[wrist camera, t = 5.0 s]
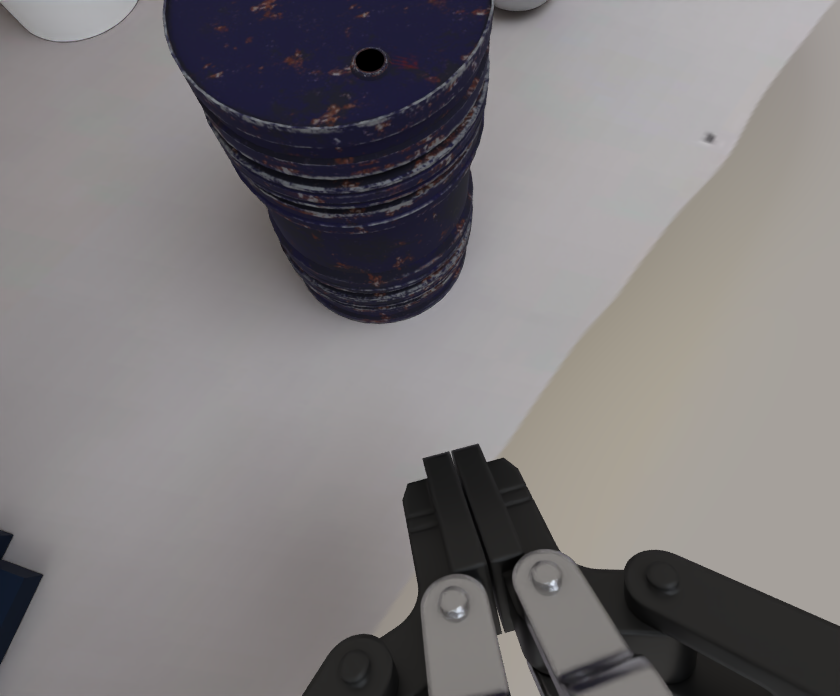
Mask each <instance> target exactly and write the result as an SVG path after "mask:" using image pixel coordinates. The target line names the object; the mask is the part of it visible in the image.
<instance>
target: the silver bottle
mask: <svg viewBox="0 0 840 696" xmlns="http://www.w3.org/2000/svg"><path fill="white" fill-rule="evenodd" d="M546 1H547V0H494V6H495V7H498V8H500V9H504V10H509V11H525V10H529V9H533V8H535V7H538V6H540V5H541V4H543V3H545V2H546Z"/></svg>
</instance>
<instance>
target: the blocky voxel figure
mask: <svg viewBox="0 0 840 696" xmlns="http://www.w3.org/2000/svg"><path fill="white" fill-rule="evenodd" d="M12 537H13V535H12V534H10V533H7V532H4V531H1V530H0V664H1V662H2V660H3V657H4V655H5V653H6V651H7V649H8V647H9V645H10V643H11V641H12V639H13V637H14V635H15V632H16V630H17V628H18V626H19V624H20V622H21V620H22V618H23V616H24V614H25V612H26V609H27V607H28V605H29V603H30V601H31V599H32V597H33V595H34V593H35V591H36V589H37V586H38V584H39V582H40V580H41V578H42V576H43V575H42V574H39V573H36V572H34V571H31V570H28V569H26V568H23V567H20V566H18V565H15V564H12V563H10V562H7V561H4V560H2V557H3V555H4V553H5V551H6V549H7V547H8V545H9V543H10V541H11V539H12Z"/></svg>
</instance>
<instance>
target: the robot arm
mask: <svg viewBox="0 0 840 696" xmlns="http://www.w3.org/2000/svg"><path fill="white" fill-rule="evenodd" d="M451 453H452V458H453V461H452V458H451V455H450V452H449V451H448V452H445V453H441V454H437V455H433V456H430V457H426V458H422V459H423V462H424V466H425V470H426V474H427V479H423V480H420V481H416V482H412V483H409V484H407V488H406V491H405V494H404V497H403V500H402V501H403V506H404V512H405V517H406V523H407V528H408V533H409V539H410V544H411V550H412V555H413V561H414V566H415V571H416V577H417V582H418V597H417V602H416V604H415V607H414V609H413V610H412V612H411V613H410V615H409V616H408V617H407V619H406V620H405V621H404V622H403V623H401V624H400V625H399V626H397V627H396V628H395V629H393V630H392V631H390V632H388V633H387V634H385V635H384V636H382V637H381V638H378V637H376V636H373V635H369V634H358V635H354V636H351V637H349V638H347V639H345V640H343V641H341V642H340V643H339V644H338V645H336V646H335V647H334V648H333V649H332V651H331V652H330V653H329V655H328V656H327V657H326V659H325V661H324V662H323V664H322V665H321V667H320V668H319V670H318V671H317V673H316V675H315V676H314V678H313V679H312V681H311V682H310V684H309V685H308V687H307V689H306V690H305V692H304V693H303V695H302V696H511V695H510V691H509V687H508V682H507V678H506V673H505V669H504V665H503V661H502V656H501V652H500V647H499V643H498V638H497V635H499V634H502V631H501V627H500V622H499V617H498V613H499V616H500V619H501V622H502V626H503V628H504V631H505V633H507V632H510V631H514V630H515V632H516V635H517V637H518V640H519V643H520V646H521V649H522V652H523V654H524V656H525V658H526V659H527V664H528V667H529V669H530V671H531V674H532V676H533V678H534V681H535V683H536V685H537V688H538V690H539V692H540V694H541V696H840V626H838V625H836V624H833V623H831V622H829V621H827V620H824V619H821V618H819V617H817V616H815V615H813V614H811V613H808V612H806V611H804V610H801V609H799V608H797V607H795V606H792V605H790V604H788V603H786V602H783V601H781V600H779V599H776V598H774V597H772V596H770V595H767V594H765V593H763V592H760V591H758V590H756V589H753V588H751V587H749V586H746V585H744V584H742V583H740V582H738V581H735V580H733V579H731V578H728V577H726V576H724V575H722V574H719V573H717V572H715V571H712V570H710V569H708V568H705V567H703V566H701V565H699V564H696V563H694V562H692V561H689V560H687V559H685V558H683V557H680V556H678V555H676V554H673V553H670V552H666V551H661V550H648V551H643V552H640V553H638V554H636V555H634V556H633V557H632V558H631V559H629V561H628V562H627V564H626V566H625V568H624V570H606V569H605V570H604V569H591V568H586V567H583V566H580V565H578V564H576V563H575V562H574V561H573V560H572V559H571V558H570V557H569V556H567V555H565V554H564V553H562V552H561V551H560V550H559V549H558V547H557V545H556V543H555V541H554V539H553V537H552V535H551V533H550V531H549V529H548V528H547V525H546V523H545V521H544V519H543V517H542V515H541V514H540V511H539V510H538V507H537V505H536V504H535V501H534V500H533V498H532V496H531V494H530V492H529V490H528V488H527V487H526V484H525V482H524V480H523V478H522V476H521V474H520V472H519V470H518V468H516V467H515V466H514V465H512V464H511V463H510V462H509V461H507V460H506V459H505V458H501V459H497V460H493V461H490V462H486V460H485V457H484V455H483V453H482V450H481V448H480V446H479V444H475V445H471V446H467V447H463V448H460V449H456V450H452V451H451ZM453 462H454V464H453ZM496 607H497V608H496ZM497 610H498V613H497Z"/></svg>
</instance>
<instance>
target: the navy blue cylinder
mask: <svg viewBox="0 0 840 696" xmlns="http://www.w3.org/2000/svg"><path fill="white" fill-rule="evenodd" d="M493 11H494V0H164V5H163V24H164V32H165V37H166V40H167V43H168V46H169V49H170V52H171V55H172V56H173V58H174V60H175V61H176V63H177V65H178V67H179V68H180V70H181V72H182V73H183V75H184V77H185V79H186V80H187V82H188V84H189V85H190V87H191V89H192V90H193V92H194V94H195V96H196V97H197V99H198V101H199V103H200V104H201V106H202V108H203V110H204V113H205V116H206V119H207V122H208V124H209V125H210V127H211V129H212V130H213V132H214V134H215V136H216V137H217V139H218V141H219V142H220V144H221V146H222V147H223V149H224V151H225V152H226V154H227V156H228V158H229V159H230V160H231V163H232V165H233V166H234V168H235V170H236V172H237V173H238V175H239V177H240V178H241V180H242V181H243V182H244V183H245V184H246V185H247V187H248V188H249V189H250V190H251V191H252V192H253V193H254V194H255V195H256V196H257V197H258V198H259V199H260V201H262V202H263V203H264V204H265V205H266V206H267V208H268V212H269V217H270V220H271V223H272V226H273V228H274V231H275V233H276V234H277V236H278V238H279V241H280V244H281V246H282V249H283V251H284V252H285V254H286V256H287V257H288V259H289V261H290V263H291V264H292V266H293V268H294V269H295V271H296V272H297V273H298V274H299V275H300V277H301V278H302V279H303V280H304V282H305V284H306V286H307V287H308V289H309V290H310V292H311V293H312V294H313V295H314V296H315V298H316V299H317V300H318V301H320V302H321V303H322V304H323V305H324V306H326V307H327V308H328V309H330V310H332V311H333V312H335V313H337V314H338V315H341V316H343V317H346V318H348V319H351V320H355V321H360V322H364V323H377V324H380V323H392V322H397V321H401V320H405V319H408V318H411V317H413V316H416V315H418V314H420V313H422V312H424V311H426V310H427V309H429V308H431V307H432V306H433V305H435V304H436V303H437V302H438V301H440V300H441V299H442V298H443V297H444V296H445V295H446V294H447V293H448V291H449V290H450V289H451V288H452V286H453V285H454V283H455V282H456V280H457V278H458V276H459V274H460V272H461V269H462V267H463V263H464V259H465V255H466V246H467V244H468V240H469V235H470V231H471V224H472V211H473V204H472V198H473V182H472V175H471V170H470V165H471V163H472V160H473V158H474V156H475V154H476V150H477V148H478V146H479V143H480V139H481V135H482V131H483V127H484V109H485V105H486V97H487V90H488V82H489V65H490V61H489V41H490V34H491V29H492V20H493Z"/></svg>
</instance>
